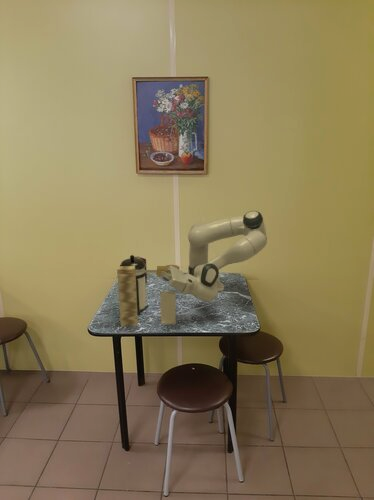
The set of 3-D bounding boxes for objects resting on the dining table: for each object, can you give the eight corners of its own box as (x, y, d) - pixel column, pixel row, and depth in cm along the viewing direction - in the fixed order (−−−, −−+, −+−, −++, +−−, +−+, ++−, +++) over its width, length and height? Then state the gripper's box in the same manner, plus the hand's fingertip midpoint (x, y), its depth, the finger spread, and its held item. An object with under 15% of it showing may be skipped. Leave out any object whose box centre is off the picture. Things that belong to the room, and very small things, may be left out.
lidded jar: (182, 277, 232) (182, 264, 229) (173, 283, 223) (172, 268, 221) (169, 274, 238) (169, 261, 235) (159, 279, 229) (159, 265, 227)
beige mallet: (167, 273, 171) (167, 266, 170) (167, 276, 167) (168, 268, 166) (129, 273, 169) (129, 265, 168) (129, 276, 165) (129, 268, 164)
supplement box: (133, 281, 227) (131, 257, 222) (139, 279, 230) (138, 255, 226) (141, 284, 221) (140, 260, 216) (147, 282, 224) (146, 258, 220)
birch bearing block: (137, 319, 177) (134, 265, 169) (137, 325, 171) (134, 269, 163) (121, 320, 176) (117, 266, 168) (120, 326, 170) (117, 270, 162)
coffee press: (116, 306, 192) (112, 253, 183) (145, 301, 197) (142, 249, 189) (122, 320, 176) (118, 263, 168) (153, 315, 181) (151, 259, 173)
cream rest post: (174, 316, 180) (174, 289, 176) (176, 324, 172) (175, 295, 168) (160, 317, 179) (160, 290, 175) (161, 324, 171) (160, 296, 167)
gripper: (186, 269, 180) (163, 257, 177) (192, 285, 161) (165, 271, 158) (180, 280, 182) (156, 268, 178) (185, 296, 162) (158, 283, 159)
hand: (160, 270), depth 168 cm, fingers closed on beige mallet, 4 cm apart
